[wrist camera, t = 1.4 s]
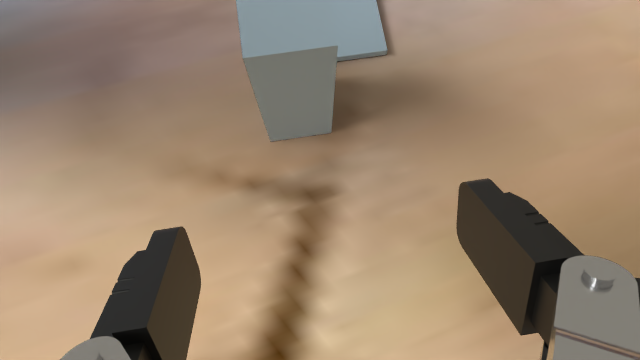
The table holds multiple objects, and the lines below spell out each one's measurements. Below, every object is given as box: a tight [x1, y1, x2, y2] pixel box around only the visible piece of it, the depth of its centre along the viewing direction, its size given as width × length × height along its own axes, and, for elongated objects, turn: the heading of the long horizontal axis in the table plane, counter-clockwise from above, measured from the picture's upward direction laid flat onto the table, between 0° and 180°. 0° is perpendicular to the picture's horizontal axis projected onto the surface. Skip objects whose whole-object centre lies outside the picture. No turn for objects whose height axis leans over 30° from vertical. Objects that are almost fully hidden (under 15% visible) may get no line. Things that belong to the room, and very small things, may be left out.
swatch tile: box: [329, 0, 387, 61], centre depth 32 cm, size 7×7×1 cm
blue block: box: [236, 0, 338, 142], centre depth 25 cm, size 4×4×11 cm
